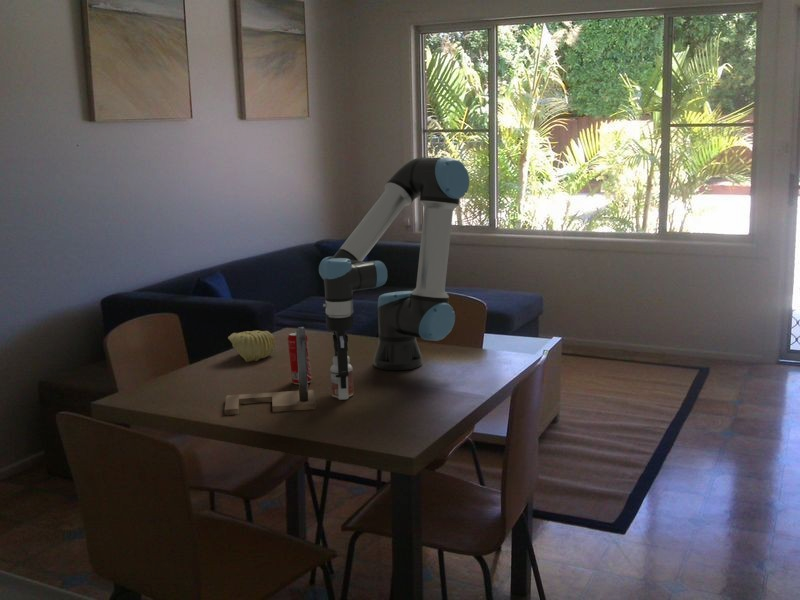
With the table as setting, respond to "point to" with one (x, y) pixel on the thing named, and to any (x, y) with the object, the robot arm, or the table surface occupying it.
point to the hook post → (302, 364)
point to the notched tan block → (278, 399)
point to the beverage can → (293, 358)
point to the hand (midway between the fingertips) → (342, 394)
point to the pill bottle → (335, 379)
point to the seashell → (253, 344)
